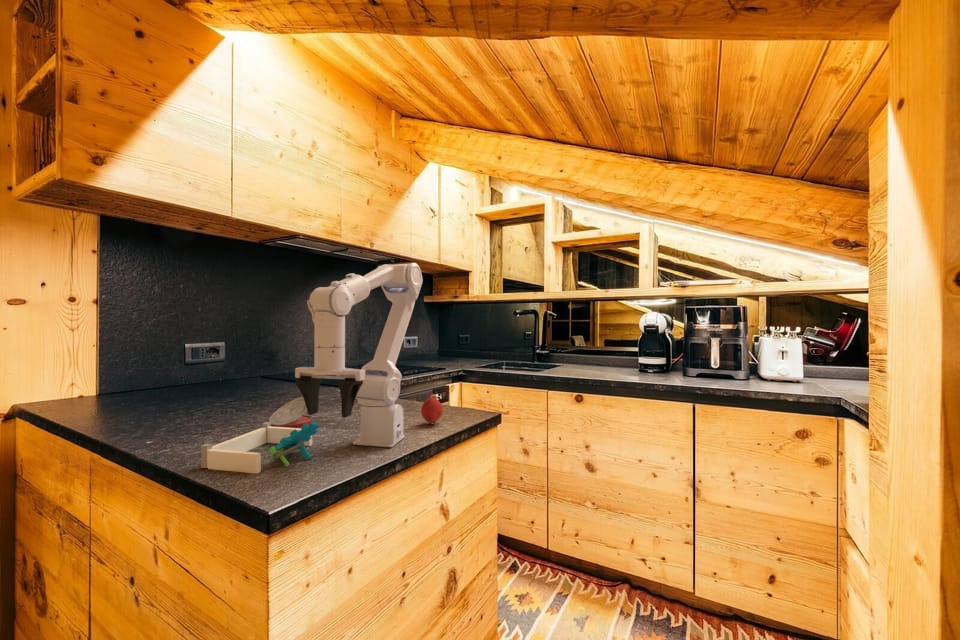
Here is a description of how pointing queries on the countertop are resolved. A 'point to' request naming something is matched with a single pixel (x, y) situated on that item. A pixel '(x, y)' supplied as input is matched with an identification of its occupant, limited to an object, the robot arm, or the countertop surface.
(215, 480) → the countertop surface
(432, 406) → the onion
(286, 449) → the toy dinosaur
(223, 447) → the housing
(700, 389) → the countertop surface
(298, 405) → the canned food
